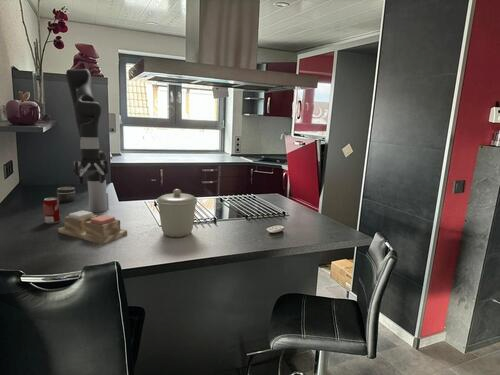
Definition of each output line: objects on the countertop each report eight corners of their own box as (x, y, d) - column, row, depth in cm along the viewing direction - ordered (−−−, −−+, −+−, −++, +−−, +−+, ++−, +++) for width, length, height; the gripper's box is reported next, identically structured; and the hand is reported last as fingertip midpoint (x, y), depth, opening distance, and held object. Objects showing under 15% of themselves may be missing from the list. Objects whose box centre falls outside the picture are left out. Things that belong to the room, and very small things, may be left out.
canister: (178, 243, 150) (177, 195, 145) (148, 235, 159) (147, 189, 155) (205, 232, 165) (205, 188, 160) (176, 225, 174) (176, 183, 170)
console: (85, 224, 171) (84, 210, 169) (127, 234, 158) (126, 219, 157) (58, 232, 159) (57, 217, 157) (101, 244, 146) (100, 228, 145)
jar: (54, 200, 214) (53, 188, 213) (70, 197, 223) (69, 186, 221) (62, 203, 209) (61, 190, 207) (79, 200, 217) (78, 188, 215)
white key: (83, 216, 165) (82, 210, 164) (93, 218, 162) (93, 212, 161) (69, 220, 159) (69, 213, 158) (80, 222, 156) (79, 216, 155)
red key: (104, 221, 159) (103, 214, 158) (115, 223, 156) (114, 217, 155) (90, 225, 153) (90, 218, 152) (102, 227, 150) (101, 221, 149)
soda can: (53, 224, 169) (51, 200, 166) (41, 223, 170) (39, 199, 168) (63, 221, 175) (61, 197, 173) (51, 219, 177) (49, 196, 174)
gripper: (102, 147, 163) (104, 181, 165) (69, 147, 153) (71, 184, 155) (109, 147, 157) (110, 183, 160) (75, 148, 148) (77, 186, 150)
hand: (91, 183), depth 158 cm, fingers open, 8 cm apart
